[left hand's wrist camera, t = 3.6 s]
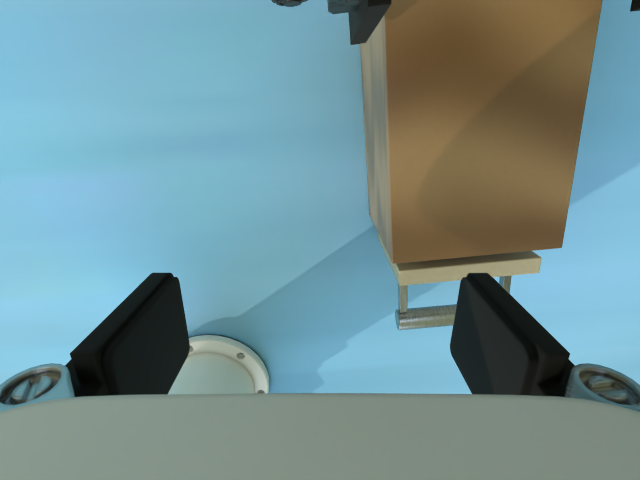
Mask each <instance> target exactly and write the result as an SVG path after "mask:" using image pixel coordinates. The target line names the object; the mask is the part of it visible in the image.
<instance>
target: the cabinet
mask: <svg viewBox="0 0 640 480" xmlns="http://www.w3.org/2000/svg"><path fill="white" fill-rule="evenodd" d="M601 6H602V0H391V5H390V7H389V8H388V10H387V11H386V13H385V14H384V16H383V17H382V19H381V21H380V22H379V24H378V25H377V27H376V28H375V30H374V31H373V33H372V34H371V36H370V37H369V39H368V40H367V42H366V43H361V44H360V52H361V70H362V88H363V106H364V124H365V142H366V161H367V179H368V197H369V214H370V216H371V219H372V221H373V223H374V225H375V227H376V229H377V231H378V234H379V236H380V238H381V240H382V242H383V244H384V247H385V249H386V251H387V253H388V255H389V257H390V260H391V262H392V264H396V263H406V262H417V261H427V260H438V259H448V258H459V257H470V256H480V255H491V254H501V253H512V252H522V251H533V250H543V249H554V248H562V244H563V238H564V231H565V225H566V219H567V213H568V207H569V201H570V195H571V189H572V183H573V177H574V170H575V164H576V158H577V152H578V146H579V140H580V134H581V128H582V122H583V116H584V109H585V103H586V97H587V91H588V85H589V79H590V73H591V67H592V61H593V54H594V48H595V42H596V36H597V30H598V24H599V18H600V12H601Z"/></svg>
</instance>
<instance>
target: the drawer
mask: <svg viewBox="0 0 640 480" xmlns="http://www.w3.org/2000/svg"><path fill="white" fill-rule="evenodd" d="M378 239H379V241H380V243H381V245H382V248H383V250H384V252H385V254H386V257H387V259H388V261H389V263H390V266H391V268H392V270H393V272H394V274H395V277H396V279H397V281H398V305H399V309H398V310H396V311H395V319H396V325H397V328H398V330H406V329H417V328H429V327H440V326H452V325H454V319H455V313H456V307H457V304H454V305H443V306H432V307H421V308H409V309H407V285H412V284H423V283H434V282H445V281H455V280H461V279H462V278H463V277H466V276H467V274H468V273H488V274H490V275H491V276H492V277H499V276H500V281H499V284H500V285H501V286H502V287H503V288H504V289H505V290H506V291H507V292H508V293H510V284H511V275H520V274H531V273H539V271H540V263H541V257H540V256H538V255H537V254H535V253H534V252H532V251H522V252H512V253H501V254H491V255H480V256H470V257H459V258H448V259H438V260H427V261H417V262H406V263H396V264H392V262H391V260H390V257H389V255H388V253H387V251H386V249H385V247H384V244H383V242H382V240H381V238H380V236H379V234H378Z"/></svg>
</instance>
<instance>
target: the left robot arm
mask: <svg viewBox="0 0 640 480" xmlns="http://www.w3.org/2000/svg"><path fill="white" fill-rule="evenodd" d="M450 350H451V354H452V357H453V359H454V361H455V362H456V364H457V366H458V368H459V370H460V372H461V374H462V376H463V377H464V379H465V381H466V383H467V385H468V387H469V389H470V391H471V393H472V394H378V393H268V391H269V375H268V372H267V369H266V367H265V365H264V363H263V361H262V360H261V359H260V358H259V356H258V355H257V354H256V353H255V352H254V351H252V350H251V349H250V348H249V347H247V346H245V345H244V344H242V343H240V342H238V341H235V340H233V339H230V338H227V337H222V336H216V335H202V336H195V337H191V338H189V337H188V331H187V325H186V319H185V313H184V307H183V301H182V295H181V289H180V283H179V279H178V278H177V277H174V276H173V274H172V273H152V274H150V275H149V276H148V277H147V278H146V279H145V280H144V281H143V282H142V283H141V284H140V285H139V286H138V287H137V288H136V289H135V290H134V291H133V292H132V293H131V294H130V295H129V296H128V297H127V298H126V299H125V300H124V301H123V302H122V303H121V304H120V305H119V306H118V307H117V308H116V309H115V310H114V311H113V312H112V313H111V314H110V315H109V316H108V317H107V318H106V319H105V320H104V321H103V322H102V323H101V324H100V325H99V326H98V327H97V328H95V329H94V330H93V331H92V332H91V333H90V334H89V335H88V336H87V337H86V338H85V339H84V340H83V341H82V342H81V343H80V344H79V345H78V346H77V347H76V348H75V349H74V350H73V351H72V352H71V353H70V355H71V358H72V359H71V360H70V361H69V362H68V363H67V364H66V365H65V366H64V365H61V364H52V363H51V364H44V365H39V366H36V367H32V368H29V369H27V370H25V371H22V372H20V373H18V374H16V375H14V376H13V377H11V378H9V379H8V380H6V381H5V382H4V383H2V384H1V385H0V480H640V385H639V384H638V383H636V382H635V381H634V380H632V379H631V378H629V377H627V376H626V375H624V374H622V373H620V372H618V371H615V370H613V369H611V368H608V367H604V366H601V365H596V364H589V363H588V364H579V365H576V366H575V365H574V364H573V363H572V362H571V361H570V360H569V359H568V358H569V355H570V353H569V352H568V351H567V350H566V349H565V348H564V347H563V346H562V345H561V344H560V343H559V342H558V341H557V340H556V339H555V338H554V337H553V336H552V335H551V334H550V333H549V332H548V331H547V330H546V329H545V328H543V327H542V326H541V325H540V324H539V323H538V322H537V321H536V320H535V319H534V318H533V317H532V316H531V315H530V314H529V313H528V312H527V311H526V310H525V309H524V308H523V307H522V306H521V305H520V304H519V303H518V302H517V301H516V300H515V299H514V298H513V297H512V296H511V295H510V294H509V293H508V292H507V291H506V290H505V289H504V288H503V287H502V286H501V285H500V284H499V283H498V282H497V281H496V280H495V279H494V278H493V277H492V276H491V275H490V274H488V273H468V274H467V276H466V277H463V278H462V279H461V283H460V289H459V295H458V301H457V307H456V313H455V319H454V325H453V331H452V337H451V343H450Z"/></svg>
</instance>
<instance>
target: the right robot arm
mask: <svg viewBox="0 0 640 480" xmlns="http://www.w3.org/2000/svg"><path fill="white" fill-rule="evenodd" d="M305 1H307V0H272V2H274V3H277V5H280V6H287V7H293V6H298V5H300V4H301V3H302V2H305ZM327 1H328V11H329V12H330V13H332V14H338V13H346V12H349V26H350V41H351V45H353V44H361V43H366V42H367V40H368V39H369V37H370V36H371V34H372V33H373V31H374V30H375V28H376V27H377V25H378V24H379V22H380V21H381V19H382V17H383V16H384V14H385V13H386V11H387V10H388V8H389V7H390V5H391V0H327ZM638 10H640V0H632V4H631V9H630V11H638Z"/></svg>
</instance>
